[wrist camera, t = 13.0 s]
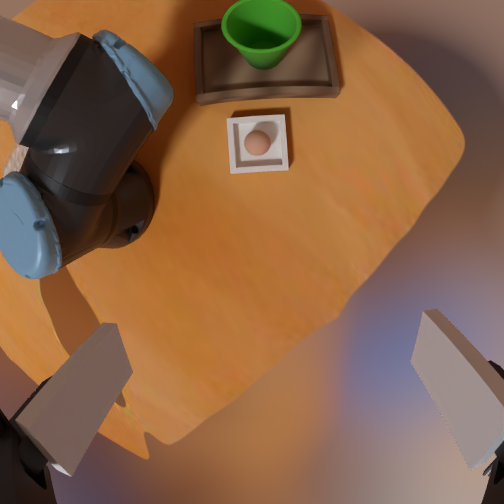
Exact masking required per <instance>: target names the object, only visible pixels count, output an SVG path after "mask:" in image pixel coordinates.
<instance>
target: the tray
mask: <svg viewBox="0 0 504 504" xmlns="http://www.w3.org/2000/svg"><path fill="white" fill-rule="evenodd" d="M299 16H300V18H301V23H302V28H301V32H300V35H299V36H298V38H297V39H296V41H295V42H293V43H292V44H291V45H290V46H289V47H288V49H287V51H286V52H285V54H284V56H283V57H282V59H281V61H280V62H279V64H278V65H277V66H275V67H274V68H271V69H268V70H259V69H256V68H254V67H252V66H251V65H250V64H249V63H248V62H247V61H246V59H245V58H244V57H243V55H242V54H241V53H240V52H239V50H238V49H237V48H236V47H234V46H233V45H232V44H231V43H230V42H228V41H227V39H226V38H225V36H224V35H223V32H222V29H221V23H222V19H217V20H210V21H204V22H198V23H194V60H195V89H196V102H198V103H199V104H200V105H207V104H215V103H223V102H232V101H242V100H255V99H271V98H336V97H337V96H338V95H339V94H340V87H339V80H338V73H337V66H336V60H335V54H334V48H333V42H332V37H331V32H330V27H329V22H328V17H327V16H326V15H308V14H299Z"/></svg>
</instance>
